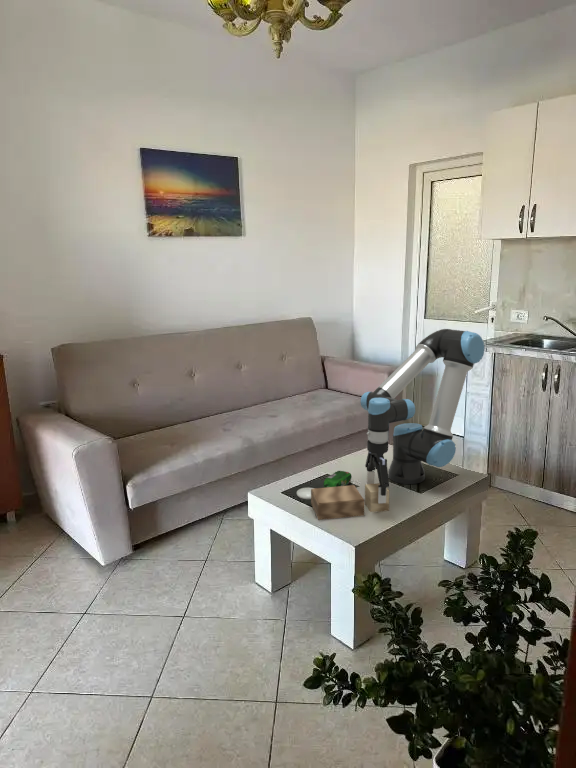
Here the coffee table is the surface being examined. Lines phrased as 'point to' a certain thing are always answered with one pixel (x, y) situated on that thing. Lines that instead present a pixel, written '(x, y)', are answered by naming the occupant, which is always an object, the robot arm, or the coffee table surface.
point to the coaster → (304, 493)
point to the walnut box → (337, 502)
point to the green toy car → (338, 479)
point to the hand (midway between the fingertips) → (376, 495)
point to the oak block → (375, 498)
